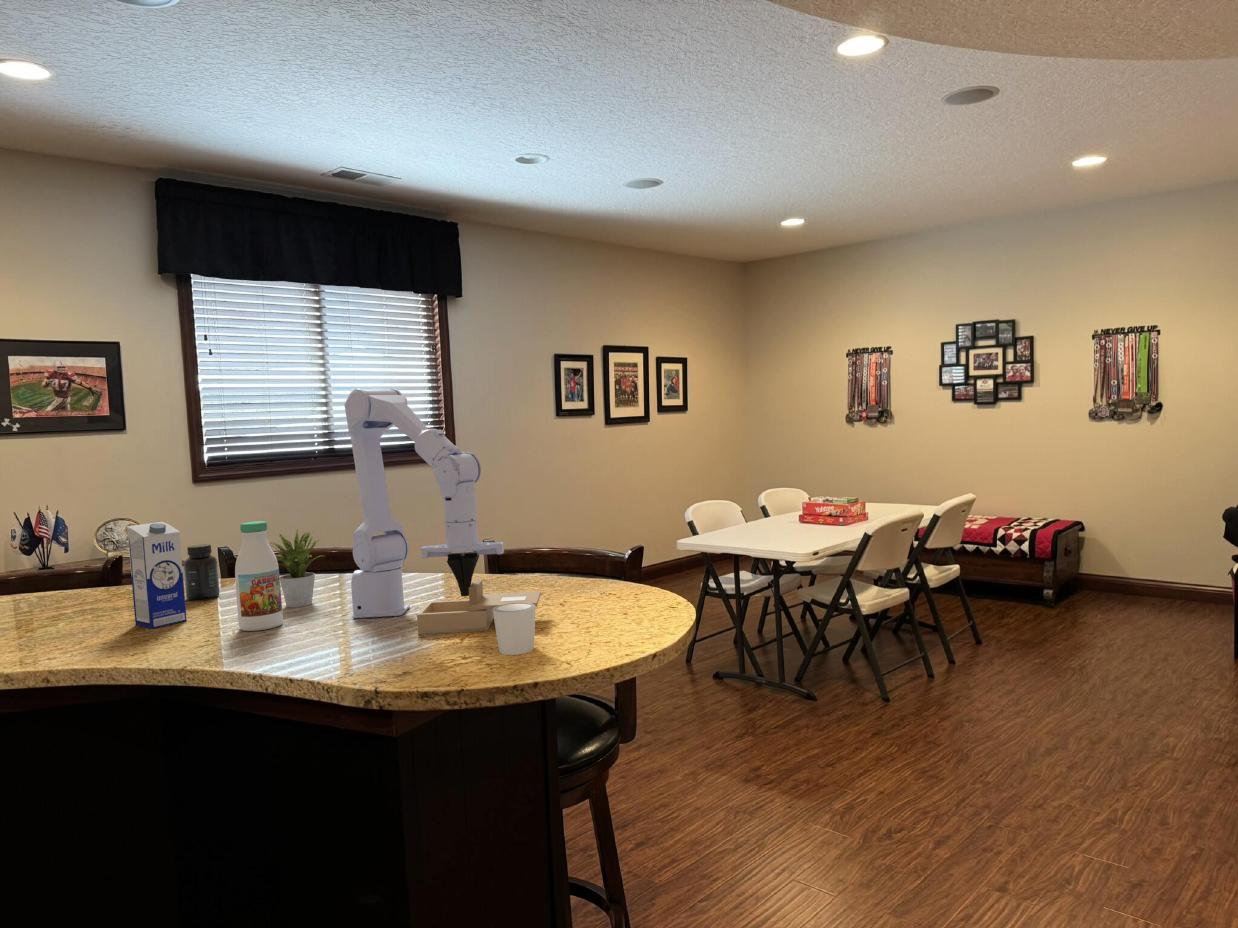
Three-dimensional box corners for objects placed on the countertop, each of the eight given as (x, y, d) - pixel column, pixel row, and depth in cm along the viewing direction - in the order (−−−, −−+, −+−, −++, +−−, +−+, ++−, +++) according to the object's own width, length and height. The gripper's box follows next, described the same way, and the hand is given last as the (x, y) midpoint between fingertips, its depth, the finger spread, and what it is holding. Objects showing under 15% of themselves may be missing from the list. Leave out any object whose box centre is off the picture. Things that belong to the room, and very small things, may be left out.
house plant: (281, 597, 186) (276, 524, 185) (343, 594, 185) (338, 521, 184) (251, 612, 171) (245, 533, 170) (318, 609, 171) (312, 530, 170)
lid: (468, 610, 146) (467, 589, 146) (476, 597, 156) (475, 578, 156) (537, 606, 146) (535, 585, 146) (540, 594, 156) (539, 575, 156)
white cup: (501, 658, 129) (498, 613, 128) (490, 648, 135) (487, 605, 135) (543, 651, 132) (541, 607, 131) (530, 641, 138) (528, 599, 137)
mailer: (418, 634, 146) (416, 614, 146) (429, 620, 156) (428, 601, 156) (486, 630, 146) (485, 610, 146) (493, 617, 156) (492, 598, 156)
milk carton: (170, 617, 171) (162, 520, 169) (187, 620, 167) (179, 521, 165) (134, 625, 165) (125, 525, 164) (151, 629, 161) (142, 526, 160)
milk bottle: (229, 631, 156) (221, 525, 155) (260, 620, 163) (252, 519, 162) (262, 632, 153) (254, 525, 152) (292, 622, 160) (284, 519, 159)
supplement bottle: (179, 601, 187) (175, 548, 187) (202, 594, 194) (198, 543, 193) (203, 601, 185) (199, 548, 185) (226, 594, 192) (222, 543, 191)
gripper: (415, 525, 146) (420, 602, 147) (498, 521, 146) (503, 597, 147) (424, 520, 153) (428, 593, 154) (503, 516, 153) (507, 589, 154)
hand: (465, 595), depth 151 cm, fingers closed
